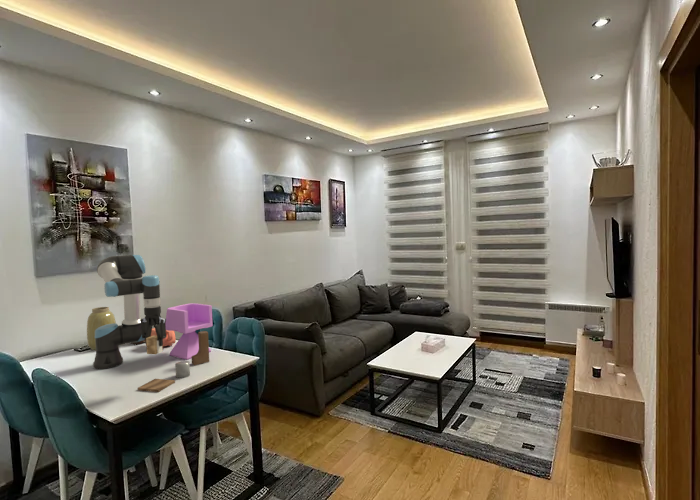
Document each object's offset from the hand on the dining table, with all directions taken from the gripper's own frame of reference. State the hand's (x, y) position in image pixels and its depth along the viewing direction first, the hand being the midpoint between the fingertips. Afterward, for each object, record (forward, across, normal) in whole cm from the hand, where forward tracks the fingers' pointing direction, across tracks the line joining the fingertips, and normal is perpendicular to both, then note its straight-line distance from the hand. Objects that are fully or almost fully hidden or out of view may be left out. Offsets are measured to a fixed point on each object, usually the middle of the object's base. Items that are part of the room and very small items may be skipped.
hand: (154, 352), depth 198 cm
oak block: (0, 0, 0) cm, 0 cm away
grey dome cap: (+17, +4, +15) cm, 23 cm away
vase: (+17, -85, +50) cm, 100 cm away
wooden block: (+17, +1, +35) cm, 39 cm away
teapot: (+17, -46, +60) cm, 77 cm away
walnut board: (+17, 0, 0) cm, 17 cm away
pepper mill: (+17, -67, +67) cm, 96 cm away
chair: (+17, -16, +49) cm, 54 cm away
